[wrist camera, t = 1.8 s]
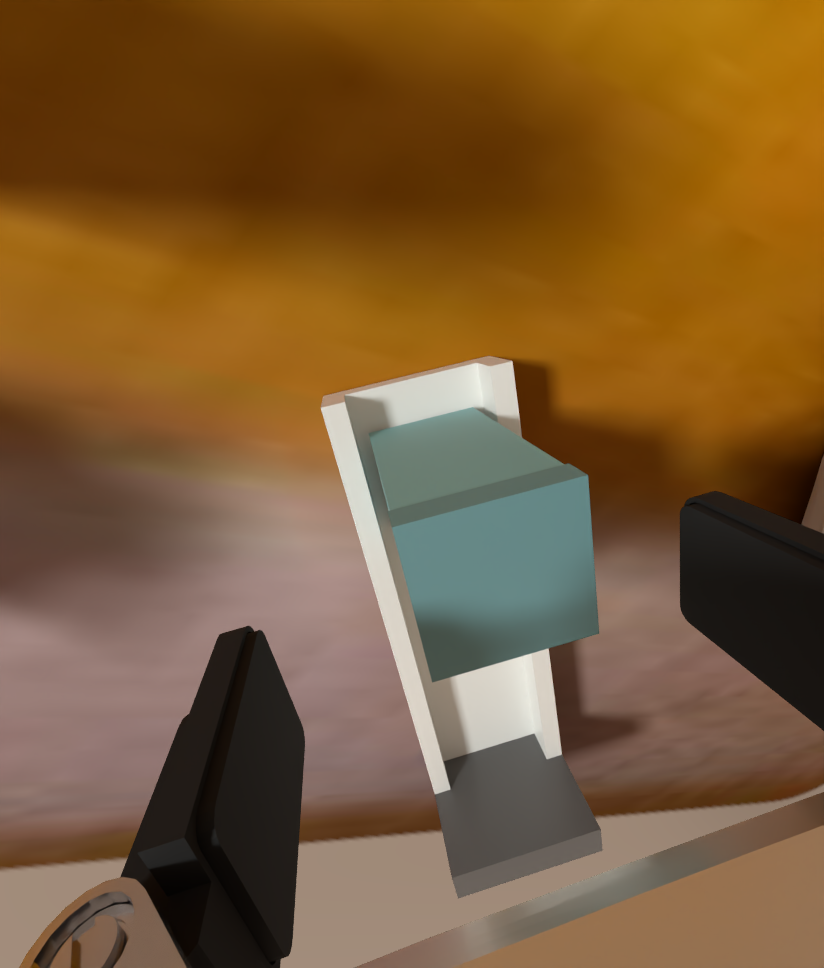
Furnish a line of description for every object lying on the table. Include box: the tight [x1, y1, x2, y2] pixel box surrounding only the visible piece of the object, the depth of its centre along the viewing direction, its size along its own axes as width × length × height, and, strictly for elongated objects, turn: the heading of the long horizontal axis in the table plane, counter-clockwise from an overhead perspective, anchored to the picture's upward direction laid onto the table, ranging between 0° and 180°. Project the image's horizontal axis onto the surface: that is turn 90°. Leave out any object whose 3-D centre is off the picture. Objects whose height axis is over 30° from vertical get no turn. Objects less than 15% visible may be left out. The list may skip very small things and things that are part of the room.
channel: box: [321, 356, 602, 898], centre depth 18 cm, size 7×21×6 cm, turn 12°
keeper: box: [369, 407, 599, 683], centre depth 13 cm, size 4×4×8 cm
